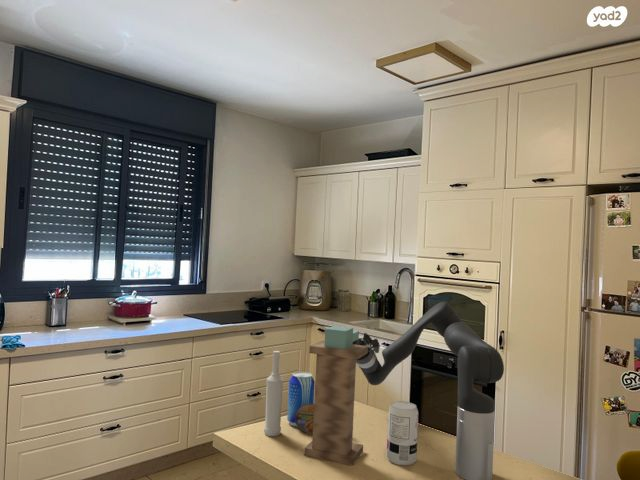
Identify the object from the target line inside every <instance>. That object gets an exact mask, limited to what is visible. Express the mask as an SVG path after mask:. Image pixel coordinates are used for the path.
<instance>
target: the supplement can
mask: <svg viewBox="0 0 640 480" xmlns="http://www.w3.org/2000/svg"><path fill="white" fill-rule="evenodd" d="M387 418H388V419H387V439H386V440H387V441H386V458H387V459H388V461H389V462H390V463H391V464H395V465H397V466H412V465H413V464H415V462H417V460H418V459H417V457H418V456H417V455H418V435H419V431H418V428H419V410H418V407H417V405H416V404H414V403H412V402H409V401H405V400H404V401H403V400H401V401H400V400H395V401H392V402H391V403H390V405H389V407H388V416H387Z"/></svg>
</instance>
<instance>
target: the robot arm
mask: <svg viewBox="0 0 640 480" xmlns="http://www.w3.org/2000/svg"><path fill="white" fill-rule="evenodd" d="M429 325H431V326H432V327H433V329H435V330H436V332H437V333H438V334H439V335H440V336H441V337H442V338H443V339H444V343H445V344H446V347H447V348H448V349H449V350H450V352H451V353H452V354H454V355H455V356H457V410H456V411H457V413H456V414H457V415H456V416H457V418H456V436H455V437H456V441H455V443H456V444H455V463H454V465H455V467H454V471H455V474H456V475H457V476H458V477H460V478H461V479H464V480H493V473H494V472H493V469H494V467H493V465H494V436H495V435H494V433H495V432H494V431H495V409H496V407H495V405H496V404H495V400H494V398H492V397H491V396H489V395H488V394H485V393H483V392H481V391H478V390H477V389H475V388H474V383H484V384H494V383H496V382H499V381H500V380H501V379H502V378H503V375H504V372H505V365H504V361H503V357H502V355H501V354H500V352H499V351H498V350H497V349H496V348H495V347H494V346H492V345H491V344H489V343H487V342H486V341H485V340H483V339H482V337H480V336H479V335H478V334H477V333H476V332H475V331H474V330H473V328H472V327H470V326H469V325H468V324H466V323H464V322H463V321H462V319H461V318H460V317H459V315H458V313H456V311H455V310H454V308H453V307H452V305H450V304H449V303H448V302H447V301H441V302H439V303H436V304H434V306H432V307H431V308H430V309H428V310H427V311H426V312H425V313H424V314H423V315H422V316H421V317H420V318H419V319H418V320H416V322H414V324H412V325H411V326H410V327H409V328H408V330H406V332H405V333H403V334H402V335H401V336H400V337H398V338H397V339H396V340H394V341H393V342H392V343H391V344H389V345H388V346H386V347H385V348H384V349H382V351H381V355H382V357H383V364H381V363H380V361H379V359H378V357H377V355H376V354H379V353H380V347H381V345H380V342H379V339H377V338H373V339H372V337H371V336H370V335H369V334H368V333H367V332H364V333H363V337H359V339H358V340H356V341H354V342H353V344H354V345H363V346H368V353H367V354H365V355H364V356H362V357H361V358H359V359H356V366H358V368H359V369H360V370H361V371H362V373H363V376H364V377H365V379H366V380H367V382H368V383H369V384H370V385H371V386H378V385H381V384H382V383H383V382H384V381H385V380H386V379H387V377H389V375H390V374H391V372H392V371H393V370H394V369H395V367H396V366H398V365H400V364H401V363H402V362H403V361H405V360H406V359H407V358H408V357H410V355H412V353H413V352H414V350H415V348H416V346H417V344H418V342H419V339H420V337H421V335H422V333H423V331H424V330H425V328H426V327H427V326H429Z"/></svg>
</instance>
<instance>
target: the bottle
mask: <svg viewBox="0 0 640 480" xmlns="http://www.w3.org/2000/svg"><path fill="white" fill-rule="evenodd" d="M280 353H281V352H280V351H279V350H273V352H272V371H271V373H270V375H269V376H268V377H267V378H266V386H265V387H266V388H265V389H266V391H265V392H266V393H265V394H266V396H265V420H264V423H265V424H264V428H263V432H264V435H265V436H267V437H277V436H279V435H281V432H282V429H281V428H282V427H281V420H282V419H281V417H282V408H283V407H282V404H283V391H284V389H283V388H284V378H283V377H282V376H281V375H280V371H279V370H280V358H281V357H280V356H281V355H280Z"/></svg>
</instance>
